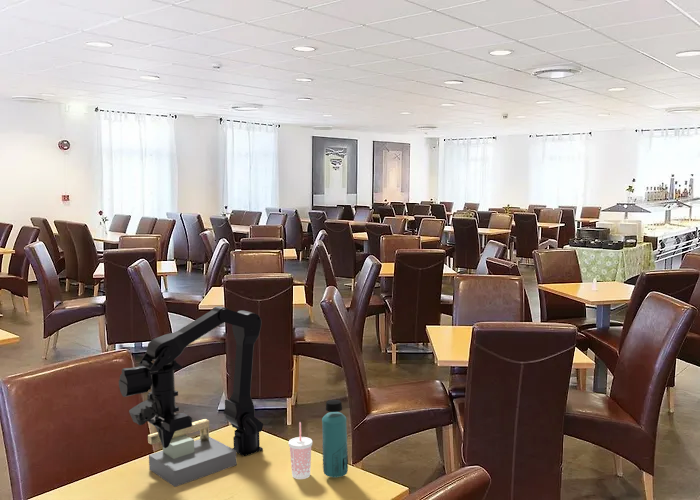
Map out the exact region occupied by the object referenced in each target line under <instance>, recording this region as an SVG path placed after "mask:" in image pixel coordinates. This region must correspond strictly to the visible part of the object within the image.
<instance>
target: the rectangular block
mask: <svg viewBox="0 0 700 500" xmlns="http://www.w3.org/2000/svg"><path fill="white" fill-rule="evenodd" d="M194 441H195V439H194V438H192V437H190V436H189V435H188V434H186V435H182V436H179V437H176V438H172V439H171V442H170V444H169V446H168V447H167V448H164V447H163V446H162V451H163V453H165V454H167V455H168V456H170V457H171V458H173V459H175V458H178V457H181V456H184V455H187V454H190V453H193V452H194Z"/></svg>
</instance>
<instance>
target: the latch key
mask: <svg viewBox="0 0 700 500" xmlns="http://www.w3.org/2000/svg"><path fill="white" fill-rule="evenodd" d="M196 432H199V439H200V441H208V440H209V437H210V420H209V419H207V418H204V419H200V420H196V421H192V426H191V427H188V428H185V429H181V430H178V431H175V433H174V435H173V437H172V438H176V437H179V436H182V435H189V434H192V433H196ZM147 442H148V444H150V445H155V444H159V443H161V440H160V437H159V435H158V432H157V431H156V432H154V433H151V434H148V435H147Z"/></svg>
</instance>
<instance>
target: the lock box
mask: <svg viewBox="0 0 700 500" xmlns="http://www.w3.org/2000/svg"><path fill="white" fill-rule="evenodd" d="M232 448H233V447H230V446H228V445H226V444H225V443H223V442H220V441H219V440H217V439H215V438H213V437H211V436H209V440H208V441H200V438H199V439H195V440H194V452H193V453H190V454H187V455H184V456H181V457H178V458H175V459H173V458H171V457H170V456H168V455H167V454H165V453H163V450H160V451H157V452H154V453H151V454H148V470H149V471H151V472H152V473H154V474H155V475H157V476H158V477H159V478H160V479H162V480H164V481H166V482H167V483H168V484H170V485H171V486H172V487H178V486H182V485H184V484H187V483H190V482H193V481H195V480H198V479H201V478H205V477H207V476H209V475H213V474H216V473H218V472H221V471H223V470H227V469H229V468H232V467H235V466H237V453H236V450H234V449H232Z"/></svg>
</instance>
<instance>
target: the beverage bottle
mask: <svg viewBox="0 0 700 500" xmlns="http://www.w3.org/2000/svg"><path fill="white" fill-rule="evenodd" d="M342 405H343V404H342V401H341V400H339V399H329V400H327V401H326V402H325V411H327V413H326V414H324V416H323V417H322V419H321V425H322V426H321V427H322V430H321V431H322V446H321V447H322V456H321V457H322V470H323V474H324V475H325V476H327V477H329V478H341V477H344V476H346V475H347V474H348V470H349V458H348V431H347V429H348V427H347V417H346V415H345V414H343V413H342V412H341V411H342V410H343V406H342Z"/></svg>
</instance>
